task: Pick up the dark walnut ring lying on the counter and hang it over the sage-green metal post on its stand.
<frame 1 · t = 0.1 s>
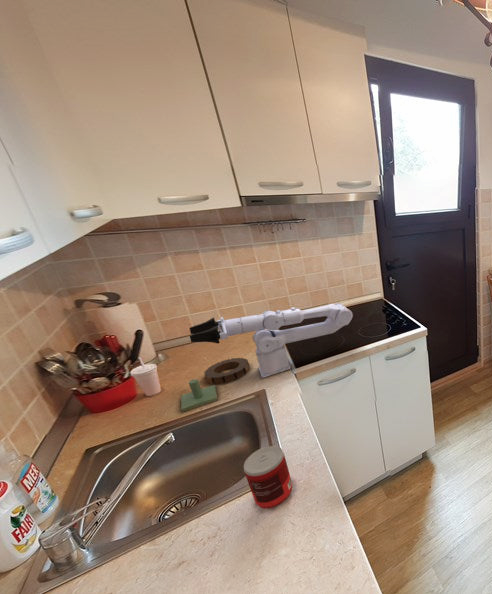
hand: (190, 334, 107), 22 cm above the worktop, tool horizontal, fingers open, 7 cm apart
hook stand: (199, 399, 110), on the worktop
canned food: (275, 494, 77), on the worktop
walnut ring: (229, 373, 124), on the worktop
smoothie: (153, 393, 113), on the worktop
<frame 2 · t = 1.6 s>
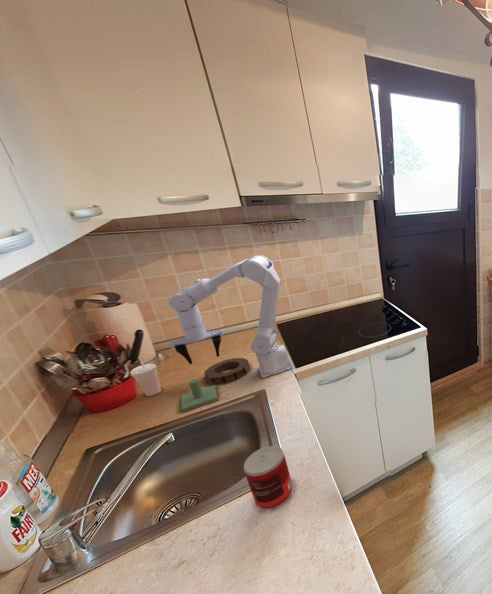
hand: (204, 359, 117), 8 cm above the worktop, tool pointing down, fingers open, 7 cm apart
nothing on the worktop moved.
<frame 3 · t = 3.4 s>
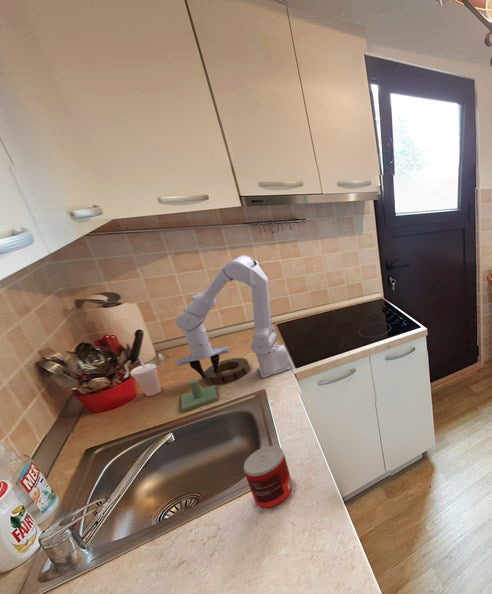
hand: (210, 375, 120), 1 cm above the worktop, tool pointing down, fingers closed on walnut ring, 3 cm apart
walnut ring: (228, 373, 124), on the worktop, touching gripper
everything else where it was.
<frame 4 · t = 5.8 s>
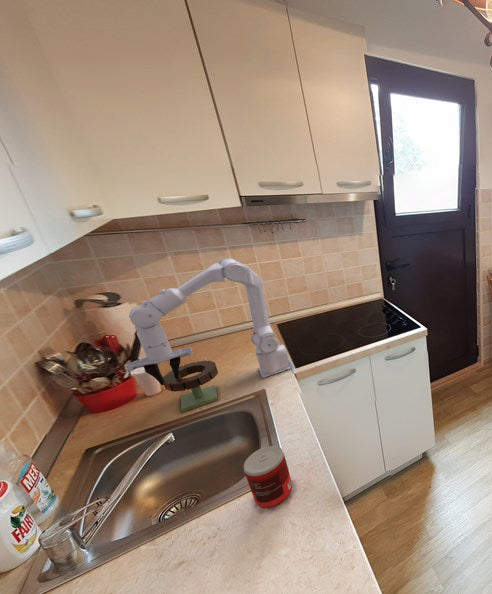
hand: (170, 381, 104), 9 cm above the worktop, tool pointing down, fingers closed on walnut ring, 3 cm apart
walnut ring: (192, 378, 107), point 8 cm above the worktop, touching gripper
everything else where it was.
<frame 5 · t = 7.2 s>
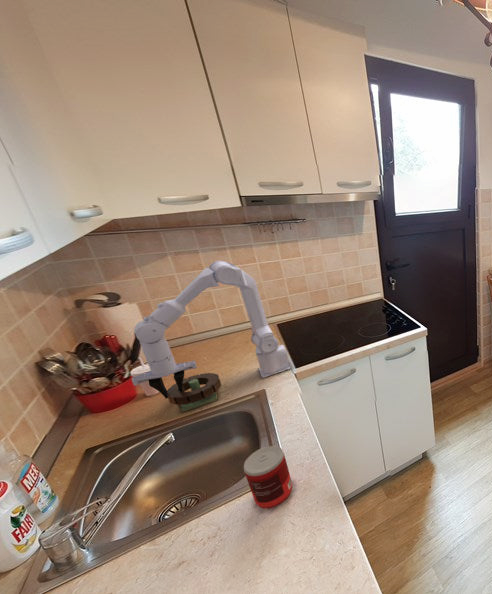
hand: (174, 394, 105), 5 cm above the worktop, tool pointing down, fingers closed on walnut ring, 3 cm apart
walnut ring: (196, 391, 108), point 3 cm above the worktop, touching gripper
everything else where it was.
when the fingers open (3 cm above the worktop, at t = 8.3 s): walnut ring stays where it is, resting on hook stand.
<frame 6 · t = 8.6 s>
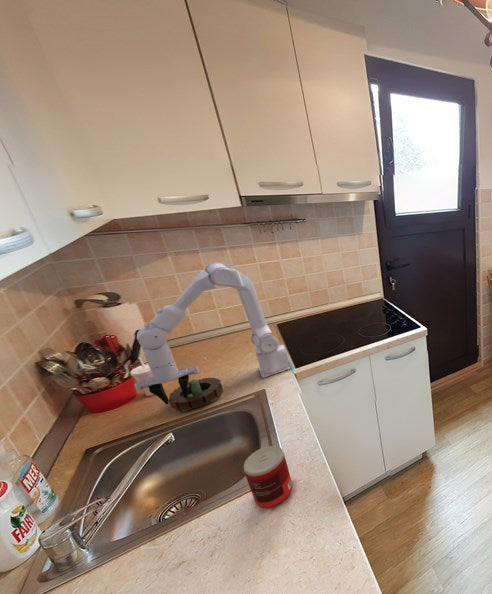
hand: (176, 399, 106), 3 cm above the worktop, tool pointing down, fingers open, 4 cm apart
walnut ring: (198, 396, 109), point 1 cm above the worktop, touching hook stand
everything else where it was.
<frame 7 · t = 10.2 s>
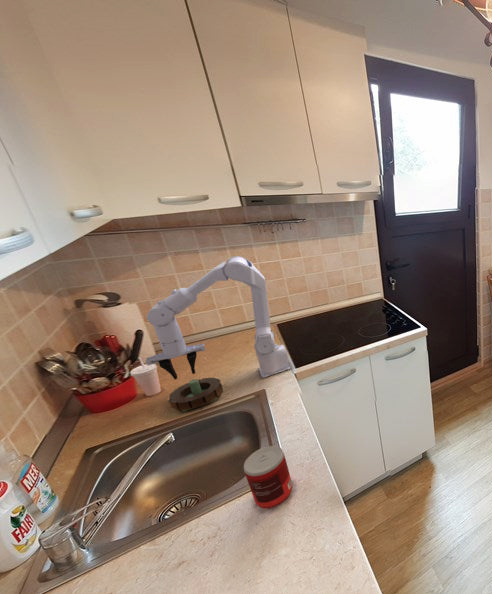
hand: (185, 375, 111), 7 cm above the worktop, tool pointing down, fingers open, 4 cm apart
nothing on the worktop moved.
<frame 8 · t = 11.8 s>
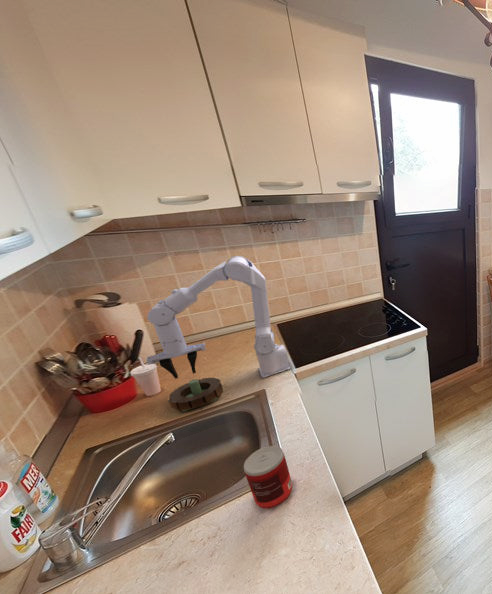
hand: (185, 374, 112), 7 cm above the worktop, tool pointing down, fingers open, 4 cm apart
nothing on the worktop moved.
at the end: walnut ring 0.1 cm from the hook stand (horizontally); walnut ring point 1.2 cm above the worktop; the gripper is holding nothing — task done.
